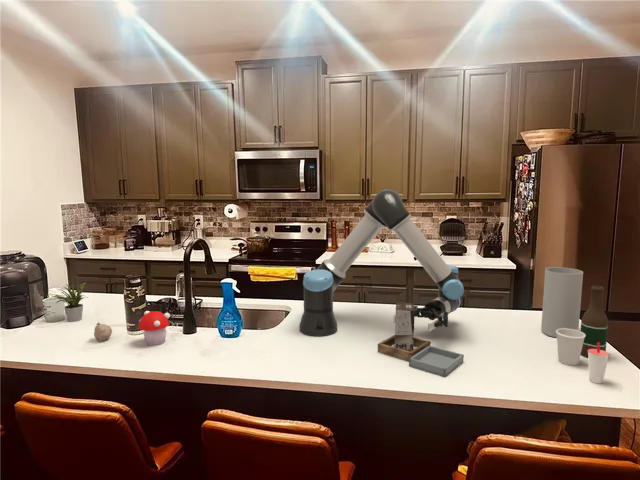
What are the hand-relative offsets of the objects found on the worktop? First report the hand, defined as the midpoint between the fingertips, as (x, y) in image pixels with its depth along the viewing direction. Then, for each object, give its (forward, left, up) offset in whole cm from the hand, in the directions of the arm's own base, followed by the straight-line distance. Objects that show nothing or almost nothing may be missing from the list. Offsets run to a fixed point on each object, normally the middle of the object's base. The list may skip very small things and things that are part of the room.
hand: (411, 323), depth 150 cm
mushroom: (-76, -55, -10) cm, 94 cm away
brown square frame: (-1, -3, -9) cm, 10 cm away
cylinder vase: (+37, +50, -10) cm, 63 cm away
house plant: (-129, -63, -10) cm, 144 cm away
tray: (+13, -6, -9) cm, 17 cm away
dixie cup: (+45, +23, -10) cm, 52 cm away
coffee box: (-1, -3, -10) cm, 10 cm away
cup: (+54, +13, -10) cm, 57 cm away
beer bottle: (+50, +34, -10) cm, 61 cm away
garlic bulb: (-94, -66, -10) cm, 115 cm away
